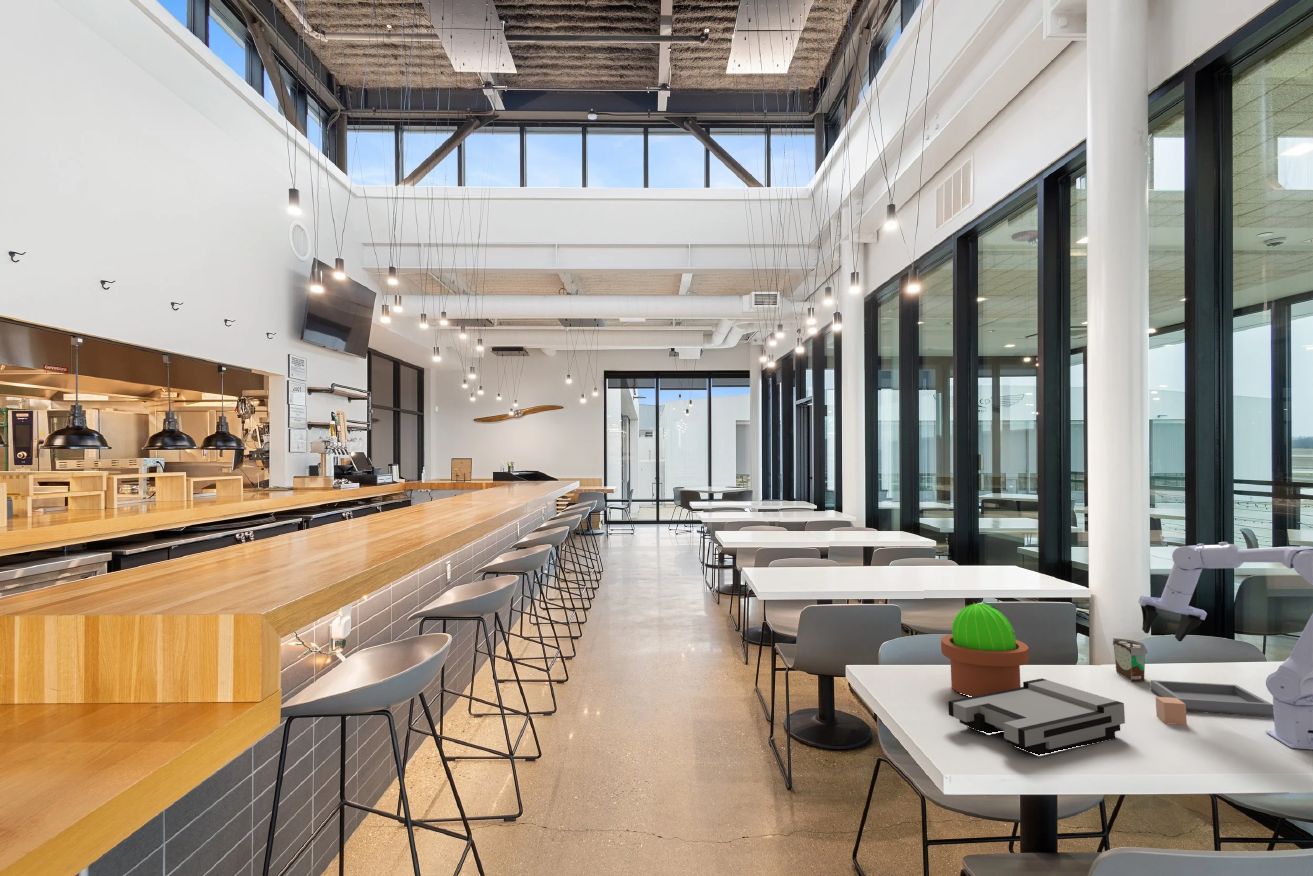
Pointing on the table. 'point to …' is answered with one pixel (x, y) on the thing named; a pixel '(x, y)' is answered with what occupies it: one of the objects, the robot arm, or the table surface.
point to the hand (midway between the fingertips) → (1161, 635)
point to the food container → (1130, 659)
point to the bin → (1213, 698)
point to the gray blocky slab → (1042, 716)
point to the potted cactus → (983, 651)
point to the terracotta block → (1171, 710)
